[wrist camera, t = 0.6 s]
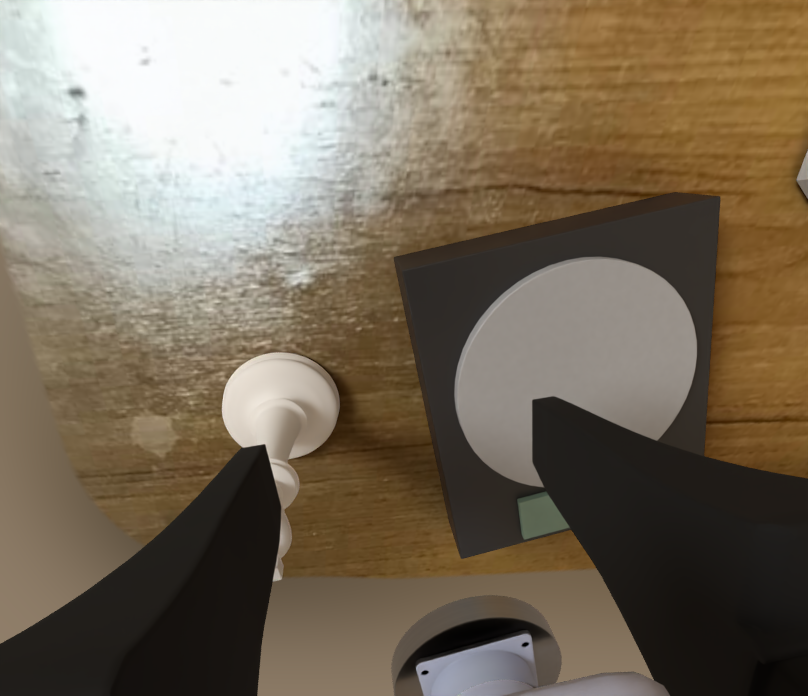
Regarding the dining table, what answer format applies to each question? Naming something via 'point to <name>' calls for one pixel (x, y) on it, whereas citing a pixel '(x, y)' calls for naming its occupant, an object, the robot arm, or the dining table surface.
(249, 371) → the chess piece
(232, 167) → the dining table surface
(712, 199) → the scale
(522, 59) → the dining table surface
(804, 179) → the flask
